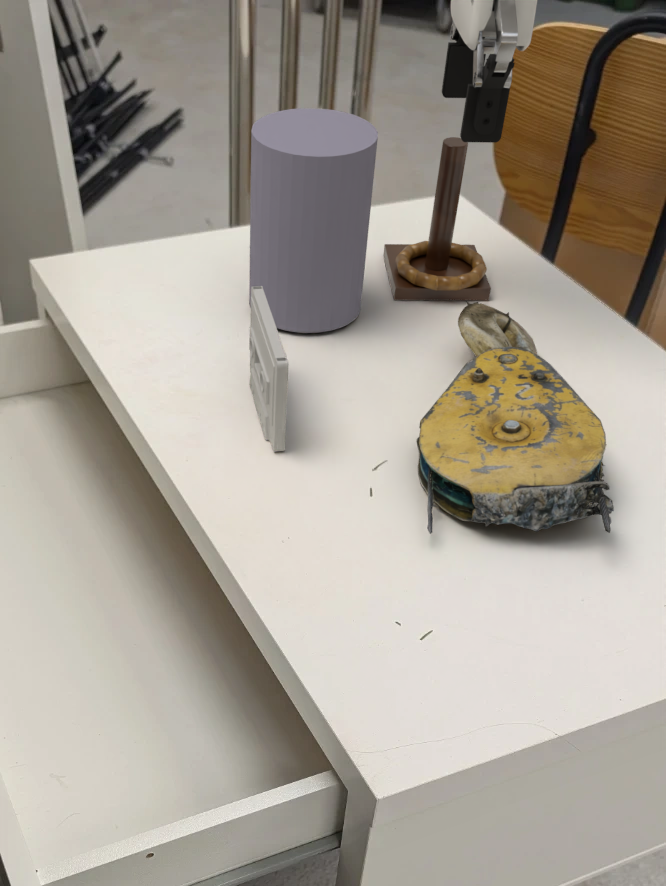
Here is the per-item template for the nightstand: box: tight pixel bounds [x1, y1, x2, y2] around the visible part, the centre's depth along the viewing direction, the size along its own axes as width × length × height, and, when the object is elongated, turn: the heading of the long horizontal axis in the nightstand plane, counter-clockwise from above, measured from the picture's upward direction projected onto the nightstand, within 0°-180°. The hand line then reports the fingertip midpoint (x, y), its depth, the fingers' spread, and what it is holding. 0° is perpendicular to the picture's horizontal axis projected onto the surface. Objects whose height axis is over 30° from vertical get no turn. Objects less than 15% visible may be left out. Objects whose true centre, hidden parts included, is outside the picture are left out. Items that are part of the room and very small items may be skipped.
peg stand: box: [382, 136, 492, 301], centre depth 94 cm, size 9×9×12 cm
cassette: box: [248, 286, 289, 453], centre depth 80 cm, size 12×2×8 cm, turn 9°
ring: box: [396, 240, 488, 290], centre depth 97 cm, size 8×8×1 cm
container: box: [248, 107, 379, 334], centre depth 89 cm, size 10×10×15 cm
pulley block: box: [416, 300, 615, 535], centre depth 80 cm, size 14×6×30 cm
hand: (469, 118), depth 85 cm, fingers open, 9 cm apart
